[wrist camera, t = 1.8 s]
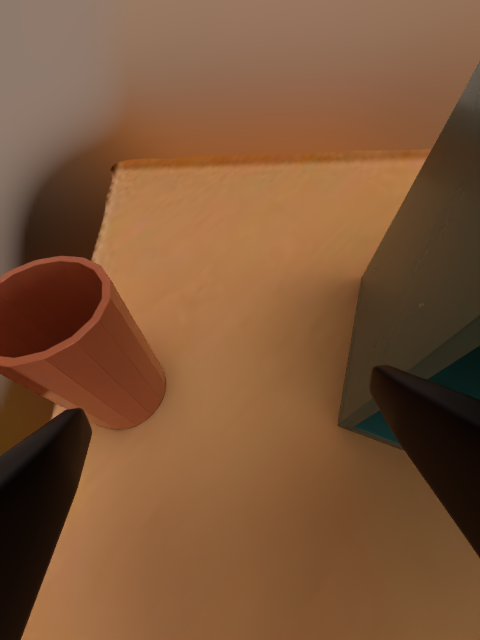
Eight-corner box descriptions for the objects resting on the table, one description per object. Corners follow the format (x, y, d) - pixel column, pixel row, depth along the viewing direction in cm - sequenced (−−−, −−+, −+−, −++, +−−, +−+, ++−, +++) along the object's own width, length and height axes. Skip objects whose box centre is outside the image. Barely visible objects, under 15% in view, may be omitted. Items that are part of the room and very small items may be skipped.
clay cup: (129, 446, 21) (21, 394, 10) (69, 404, 23) (-72, 324, 12) (181, 375, 24) (138, 283, 14) (125, 343, 26) (51, 242, 16)
